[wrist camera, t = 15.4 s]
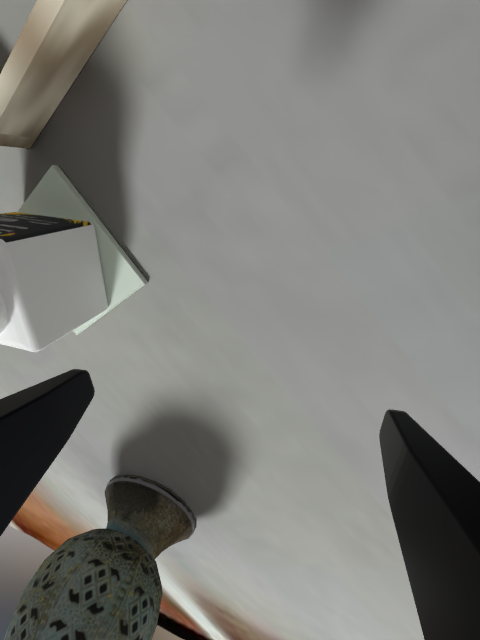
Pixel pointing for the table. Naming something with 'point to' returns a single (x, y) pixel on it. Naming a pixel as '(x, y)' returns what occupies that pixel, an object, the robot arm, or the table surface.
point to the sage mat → (66, 202)
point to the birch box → (48, 63)
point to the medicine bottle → (47, 278)
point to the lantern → (106, 570)
